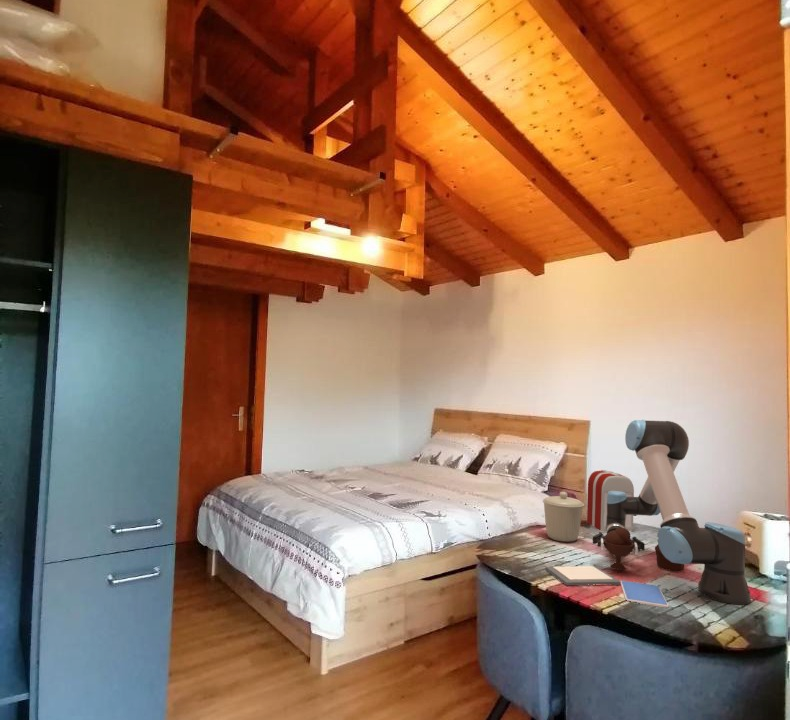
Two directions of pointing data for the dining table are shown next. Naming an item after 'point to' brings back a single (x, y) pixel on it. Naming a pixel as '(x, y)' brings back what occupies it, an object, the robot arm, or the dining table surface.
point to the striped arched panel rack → (598, 493)
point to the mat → (568, 582)
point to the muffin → (667, 562)
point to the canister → (562, 517)
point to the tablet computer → (643, 594)
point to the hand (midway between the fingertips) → (619, 548)
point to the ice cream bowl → (618, 545)
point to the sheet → (582, 573)
